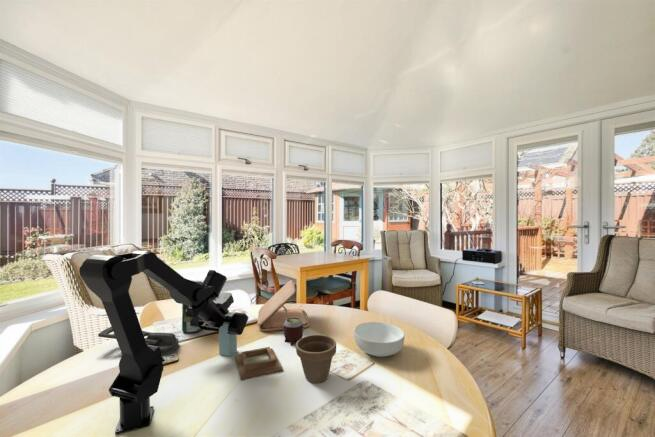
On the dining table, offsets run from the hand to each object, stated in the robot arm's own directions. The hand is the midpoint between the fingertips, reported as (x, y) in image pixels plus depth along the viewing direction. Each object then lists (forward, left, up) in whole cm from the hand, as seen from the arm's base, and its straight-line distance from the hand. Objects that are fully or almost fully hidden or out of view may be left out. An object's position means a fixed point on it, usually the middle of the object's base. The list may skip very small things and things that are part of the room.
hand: (230, 331), depth 100 cm
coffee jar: (+25, +12, -7) cm, 29 cm away
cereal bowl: (-20, -46, -7) cm, 51 cm away
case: (+19, -23, -7) cm, 31 cm away
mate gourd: (-2, -21, -7) cm, 22 cm away
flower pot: (-26, -21, -7) cm, 34 cm away
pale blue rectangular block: (-1, +1, -7) cm, 7 cm away
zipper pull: (+14, +29, -7) cm, 33 cm away
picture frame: (-12, -7, -7) cm, 15 cm away
